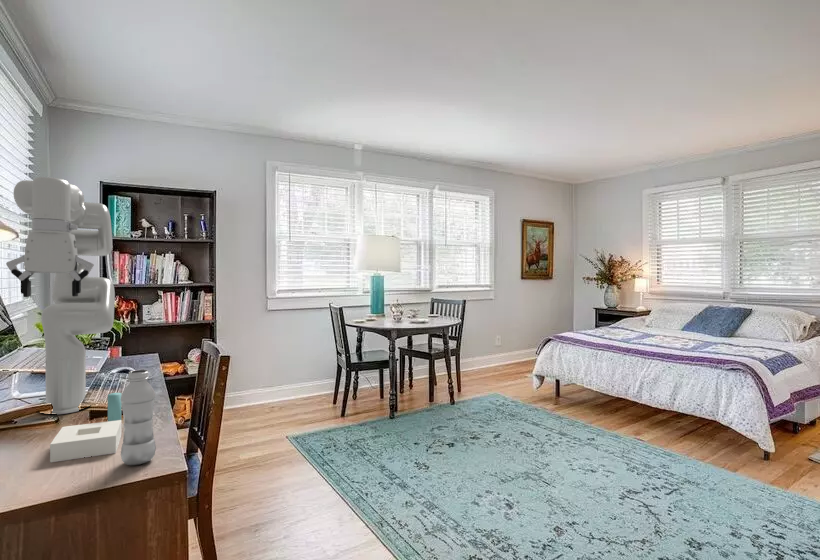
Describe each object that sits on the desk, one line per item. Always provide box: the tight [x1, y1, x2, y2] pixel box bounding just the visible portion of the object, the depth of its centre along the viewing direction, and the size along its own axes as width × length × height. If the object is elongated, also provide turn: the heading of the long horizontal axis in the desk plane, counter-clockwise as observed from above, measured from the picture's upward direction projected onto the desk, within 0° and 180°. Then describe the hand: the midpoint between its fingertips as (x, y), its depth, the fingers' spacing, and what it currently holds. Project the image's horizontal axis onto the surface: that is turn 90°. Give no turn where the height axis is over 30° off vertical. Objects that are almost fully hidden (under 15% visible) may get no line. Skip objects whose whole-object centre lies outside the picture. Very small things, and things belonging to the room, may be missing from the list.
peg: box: [107, 392, 122, 422], centre depth 117 cm, size 3×3×10 cm
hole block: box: [49, 419, 123, 463], centre depth 106 cm, size 12×12×4 cm
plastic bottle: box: [120, 369, 157, 466], centre depth 98 cm, size 6×7×20 cm
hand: (51, 296), depth 113 cm, fingers open, 9 cm apart
